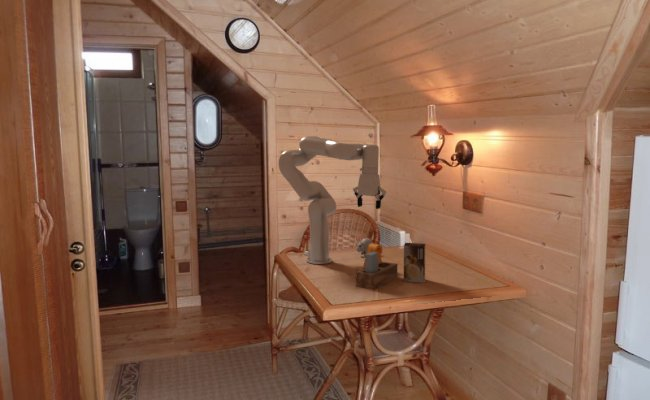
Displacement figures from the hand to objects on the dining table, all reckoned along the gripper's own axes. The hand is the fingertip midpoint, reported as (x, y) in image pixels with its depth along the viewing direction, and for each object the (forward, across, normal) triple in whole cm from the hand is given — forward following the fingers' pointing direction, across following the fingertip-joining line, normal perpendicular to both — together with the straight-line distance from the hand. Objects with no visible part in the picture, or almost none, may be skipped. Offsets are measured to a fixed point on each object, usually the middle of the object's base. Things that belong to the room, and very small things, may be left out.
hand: (368, 207), depth 237 cm
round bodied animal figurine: (+30, -15, +22) cm, 40 cm away
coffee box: (+29, +28, -7) cm, 40 cm away
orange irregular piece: (+29, +5, 0) cm, 30 cm away
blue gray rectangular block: (+27, +15, -23) cm, 39 cm away
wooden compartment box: (+29, +15, -17) cm, 37 cm away
